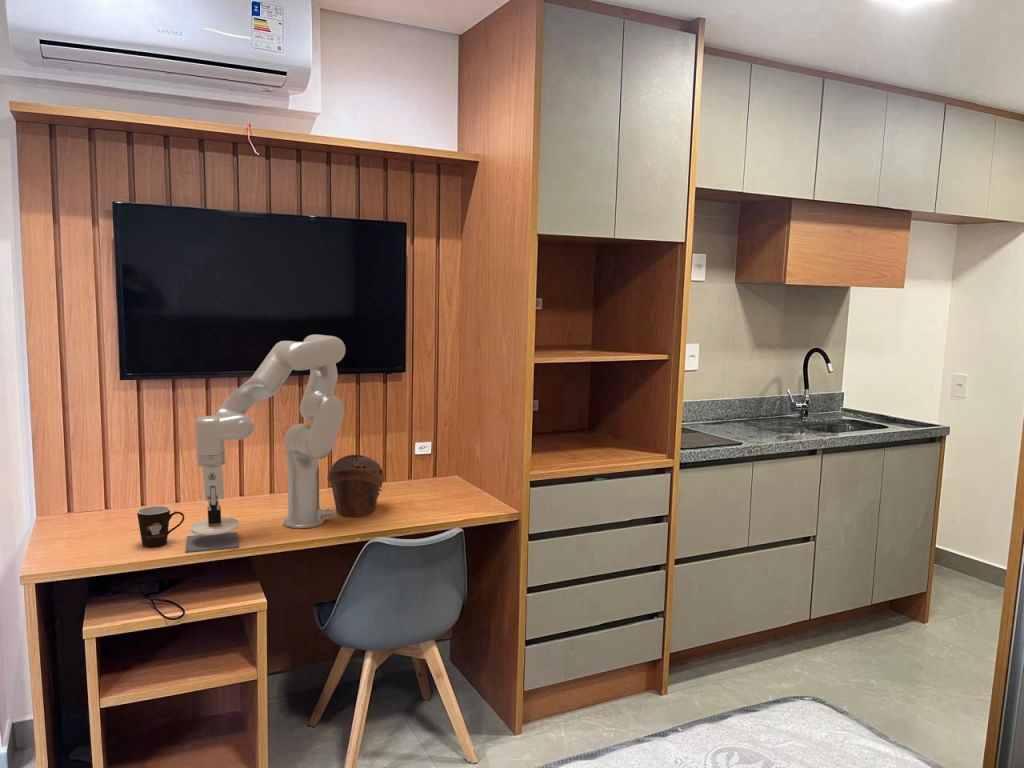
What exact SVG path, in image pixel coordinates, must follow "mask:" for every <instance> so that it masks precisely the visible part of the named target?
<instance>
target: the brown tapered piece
mask: <svg viewBox="0 0 1024 768" xmlns="http://www.w3.org/2000/svg"><path fill="white" fill-rule="evenodd" d="M383 472H384V471H383V468H382V467H381V466H380V464H379V463H378V462H377V461H376V460H374V459H372V458H370V457H368V456H365V455H361V454H350V455H349V454H348V455H345V456H342V457H340V458H339V459H337V461H335V462H334V463H333V464H332V466H331V468H330V470H329V471H328V476H327V482H328V483H329V482H330V485H331V489H332V495H333V500H334V505H335V513H336V514H338V515H340V516H344V517H345V516H346V517H355V518H356V517H364V516H365V517H366V516H368V515H372V514H373V513H374V512H375V511H376V507H377V501H378V497H379V496H380V492H381V493H383V491H382V486H383V479H384V473H383Z"/></svg>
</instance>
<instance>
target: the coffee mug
mask: <svg viewBox="0 0 1024 768" xmlns="http://www.w3.org/2000/svg"><path fill="white" fill-rule="evenodd" d="M136 514H137V521H138V526H139V533H140V539H141V545H142V547H143V548H147V549H148V548H149V549H151V548H153V549H156V548H160V547H163V546H165V545H167V544H168V536H169V535H170V533H172V532H173V531H175V529H177V528H178V527H180V526H181V525H182V524H183V522H184V520H185V515H184V513H183V512H181V511H174V512H172V513H171V508H170V507H169V506H164V505H154V506H152V505H151V506H145V507H143V508H140V509H138V510H137V511H136ZM174 515H181V517H182V519H181V520H180V522H179V523H178V524H176V525H175V526H174V527H173V528H171V529H169V526H170V525H169V524H170V520H171V518H172V517H173V516H174Z"/></svg>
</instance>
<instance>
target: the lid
mask: <svg viewBox="0 0 1024 768" xmlns="http://www.w3.org/2000/svg"><path fill="white" fill-rule="evenodd" d="M219 509H220V517H221V522H220V523H216V524H209V518H208V517H207V519H202V520H199V521H196V522H194V523H193V524H192V525H191V526H190V532H191V533H192V534H193V535H218V534H223V533H229V532H234V531H235V530H237V529H238V528H239V526H240V522H239V520H238V519H237V518H232V517H222V511H221V510H222V508H221V505H220V506H219ZM208 510H209V507H208V506H207V511H208Z"/></svg>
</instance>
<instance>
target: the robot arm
mask: <svg viewBox="0 0 1024 768" xmlns="http://www.w3.org/2000/svg"><path fill="white" fill-rule="evenodd" d="M345 355H346V345H345V343H344V341H343V340H342V339H341V338H339V337H337V336H334V335H325V334H310V335H307V336H306V337H305V338H304V339H303V341H293V340H281V341H279V342H277V343H276V344H275V345H274V346H273V347H272V349H271V350H270V351H269V352H268V354H267V355H266V356H265V358H263V359H264V360H263V361H262V362H261V364H260V365H259V366H258V368H257V369H256V370H255V372H254V373H253V375H251V377H250V378H249V379H247V380H246V381H245V382H244V383H243V384H241V385H240V386H239V387H237V388H236V389H234V391H233V392H231V393H230V395H228V396H227V398H226V399H225V400H224V402H223V403H222V405H221V406H220V408H219V409H218V410H217V411H216V413H215V415H204V416H203V415H202V416H200V417H198V418H196V420H195V422H194V426H195V427H194V428H195V445H196V462H197V467H200V468H202V469H201V470H202V483H203V491H204V497H205V501H208V506H207V508H208V507H209V510H208V509H207V519H208V518H209V524H216V523H220V522H221V518H222V516H221V517H220V509H219V506H221V505H220V500H224V498H225V494H224V493H225V491H224V490H225V489H224V488H225V487H224V476H223V475H224V474H223V473H224V471H223V466H224V465H226V464H227V463H226V449H225V448H226V444H225V443H226V442H225V441H237V440H239V441H240V440H245V439H246V438H249V437H250V436H251V435H252V434H253V432H254V429H255V423H254V421H253V419H252V418H251V417H250V416H248V415H246V413H247V412H248V411H249V409H251V408H252V407H253V406H254V405H255V404H258V403H260V402H262V401H263V400H267V399H269V398H271V397H273V396H274V395H276V394H277V393H278V391H279V390H280V389H281V387H282V385H283V384H284V383H285V381H286V380H287V378H288V377H289V376H290V374H291V372H292V371H293V370H294V371H307V370H309V371H310V374H309V378H308V382H307V385H306V387H305V391H304V393H303V396H302V399H301V402H300V405H299V413H300V415H301V417H303V418H304V419H305V420H307V421H310V422H311V424H308V423H307V424H305V423H297V424H294V425H291V427H289V428H288V430H287V431H286V433H285V436H284V449H285V454H286V460H287V462H286V464H287V513H288V514H287V517H285V518H284V519H283V520H282V524H283V526H285V527H287V528H290V529H292V528H293V529H309V528H311V529H312V528H315V527H319V526H322V525H323V524H324V523H325V517H335V509H330V508H324V509H323V508H321V507H320V466H319V465H320V464H319V460H321V459H324V458H326V457H328V456H329V454H330V453H331V451H332V450H333V448H334V447H335V446H334V445H335V443H336V441H337V437H338V434H339V431H340V428H341V425H342V422H343V420H344V416H345V415H344V414H345V407H344V404H343V401H342V400H341V399H340V398H339V397H338V395H335V390H336V386H337V383H338V376H339V375H338V368H337V365H336V364H337V363H339V362H341V361H342V359H343V358H344V357H345Z"/></svg>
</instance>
